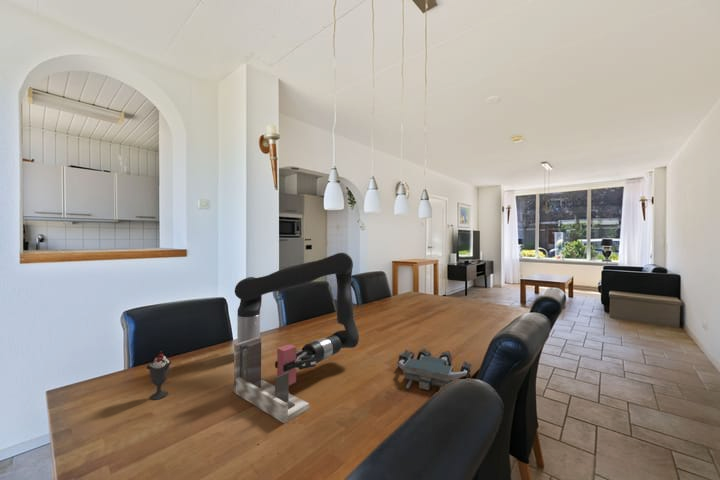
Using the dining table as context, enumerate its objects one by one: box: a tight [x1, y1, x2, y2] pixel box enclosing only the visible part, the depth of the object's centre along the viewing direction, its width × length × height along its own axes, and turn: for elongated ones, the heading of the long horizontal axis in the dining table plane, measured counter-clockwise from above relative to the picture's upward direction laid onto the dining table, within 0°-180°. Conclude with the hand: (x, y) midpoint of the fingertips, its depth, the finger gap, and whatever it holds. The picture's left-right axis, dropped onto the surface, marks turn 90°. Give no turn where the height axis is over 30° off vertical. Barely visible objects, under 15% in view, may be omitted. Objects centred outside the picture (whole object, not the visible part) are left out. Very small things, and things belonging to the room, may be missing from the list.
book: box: [276, 343, 297, 386], centre depth 99 cm, size 4×5×12 cm
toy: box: [397, 347, 473, 391], centre depth 112 cm, size 27×9×30 cm
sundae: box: [146, 350, 172, 401], centre depth 95 cm, size 7×7×15 cm
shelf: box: [233, 336, 310, 424], centre depth 94 cm, size 26×9×16 cm, turn 53°
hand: (279, 366), depth 96 cm, fingers closed on book, 3 cm apart
